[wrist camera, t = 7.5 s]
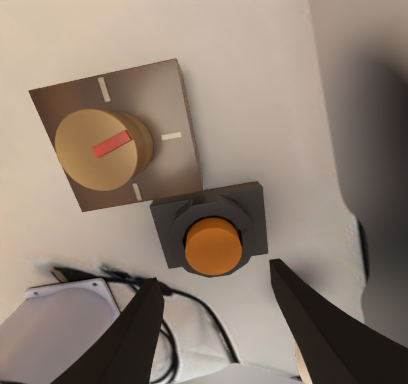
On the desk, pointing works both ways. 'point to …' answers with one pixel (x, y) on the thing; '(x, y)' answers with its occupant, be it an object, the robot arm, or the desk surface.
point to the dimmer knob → (103, 148)
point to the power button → (213, 246)
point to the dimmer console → (145, 112)
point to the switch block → (206, 208)
